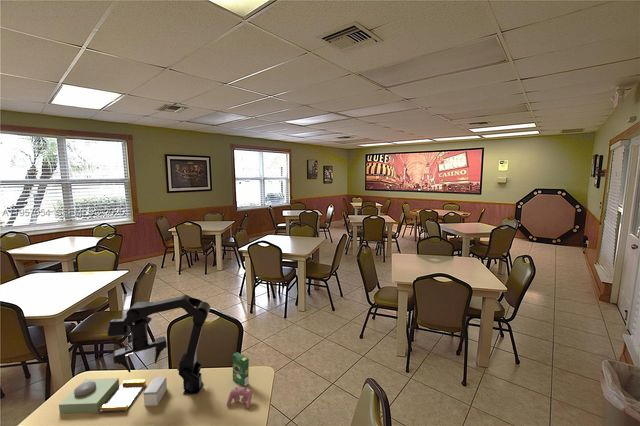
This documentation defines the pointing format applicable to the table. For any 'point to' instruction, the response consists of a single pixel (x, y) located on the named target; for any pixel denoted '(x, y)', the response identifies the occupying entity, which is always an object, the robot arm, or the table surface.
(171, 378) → the table surface
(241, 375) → the coffee box
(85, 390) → the green slab
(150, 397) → the chute block
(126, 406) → the white yellow tray
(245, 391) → the video game controller
